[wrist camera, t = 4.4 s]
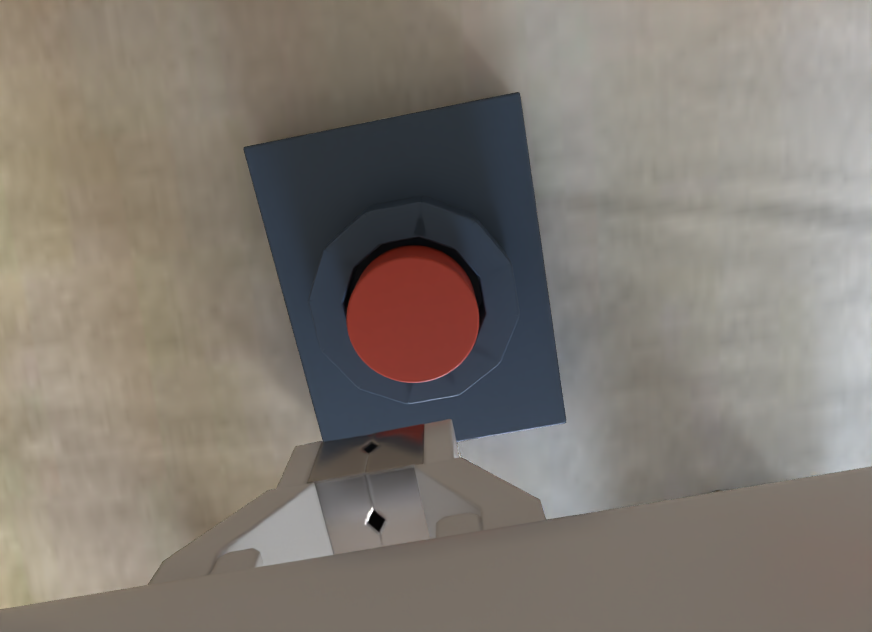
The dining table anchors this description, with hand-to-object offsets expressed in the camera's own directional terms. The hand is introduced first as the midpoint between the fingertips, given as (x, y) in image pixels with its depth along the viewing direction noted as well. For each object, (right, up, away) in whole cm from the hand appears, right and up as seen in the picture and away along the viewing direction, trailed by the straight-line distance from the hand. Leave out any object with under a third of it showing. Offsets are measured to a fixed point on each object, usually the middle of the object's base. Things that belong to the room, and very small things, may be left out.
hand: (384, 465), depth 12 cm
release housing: (0, +4, +14) cm, 15 cm away
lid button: (0, +3, +11) cm, 11 cm away
